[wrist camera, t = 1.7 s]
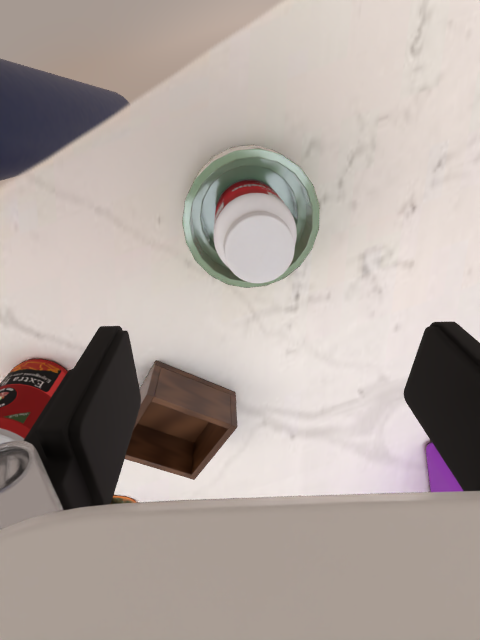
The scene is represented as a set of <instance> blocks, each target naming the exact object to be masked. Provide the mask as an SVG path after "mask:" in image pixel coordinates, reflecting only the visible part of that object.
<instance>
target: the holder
mask: <svg viewBox="0 0 480 640" xmlns="http://www.w3.org/2000/svg"><path fill="white" fill-rule="evenodd" d="M140 394H141V405H140V409H139V413H138V416H137V419H136V422H135V426H134V429H133V432H132V436H131V439H130V442H129V445H128V449H127V452H126V455H125V459H127V460H130V461H133V462H137V463H140V464H143V465H147V466H150V467H154V468H157V469H160V470H164V471H167V472H170V473H174V474H177V475H180V476H184V477H187V478H190V479H193V480H195V478H196V477H197V476H198V475H199V473H200V472H201V471H202V470H203V469H204V467H205V466H206V465H207V464H208V462H209V461H210V460H211V459H212V457H213V456H214V455H215V454H216V453H217V451H218V450H219V449H220V448H221V446H222V445H223V444H224V443H225V442H226V440H227V439H228V438H229V437H230V435H231V434H232V433H233V432H234V431H235V429H236V428H237V413H236V395H235V392H233V391H231V390H228V389H226V388H224V387H221V386H219V385H216V384H214V383H211V382H209V381H206V380H204V379H201V378H199V377H196V376H194V375H191V374H189V373H186V372H184V371H181V370H179V369H176V368H174V367H171V366H169V365H166V364H164V363H161V362H159V361H155V363H154V365H153V366H152V368H151V370H150V372H149V373H148V375H147V377H146V379H145V380H144V382H143V384H142V386H141V387H140Z"/></svg>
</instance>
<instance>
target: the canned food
mask: <svg viewBox="0 0 480 640" xmlns="http://www.w3.org/2000/svg"><path fill="white" fill-rule="evenodd" d="M67 372H68V371H67V370H66V369H65V368H63V367H62V366H60V365H58V364H56V363H54V362H51V361H48V360H43V359H32V360H27V361H24V362H22V363H21V364H19V365H17V366H16V367H14V368H13V369H12V370H11V371H10V373H9V374H8V375H7V376H6V377H5V379H4V380H3V381H2V382H1V383H0V444H2V443H5V442H10V441H23V440H24V439H25V437H26V436H27V434H28V433H29V431H30V430H31V428H32V426H33V425H34V423H35V422H36V420H37V419H38V417H39V415H40V414H41V412H42V411H43V409H44V408H45V406H46V405H47V403H48V401H49V400H50V398H51V397H52V395H53V394H54V392H55V391H56V389H57V387H58V386H59V384H60V383H61V381H62V380H63V378H64V376H65V375H66V374H67Z"/></svg>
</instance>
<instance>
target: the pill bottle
mask: <svg viewBox="0 0 480 640" xmlns="http://www.w3.org/2000/svg"><path fill="white" fill-rule="evenodd" d="M296 238H297V230H296V224H295V221H294V218H293V216H292V214H291V212H290V210H289V209H288V207H287V206H286V205H285V204H284V202H283V201H282V200H281V198H280V197H279V196H278V194H277V193H276V192H275V191H274V190H273V189H272V188H271V187H270V186H269V185H268V184H266V183H264V182H262V181H260V180H256V179H242V180H238V181H236V182H234V183H232V184H230V185H229V186H228V187H227V188H226V189H225V190H224V191H223V192H222V194H221V195H220V197H219V199H218V202H217V205H216V210H215V221H214V245H215V249H216V251H217V253H218V256H219V257H220V259H221V260H222V261H223V263H224V264H225V265H226V266H227V267H229V268H230V270H231V271H232V272H233V273H234V274H235V275H236V276H237V277H238V278H240V279H242V280H244V281H247V282H250V283H266V282H269V281H272V280H275V279H276V278H278V277H279V276H281V275H282V274H283V273H284V272H285V271H286V270H287V269H288V267H289V266H290V264H291V262H292V260H293V257H294V251H295V243H296Z"/></svg>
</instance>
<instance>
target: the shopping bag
mask: <svg viewBox="0 0 480 640" xmlns="http://www.w3.org/2000/svg"><path fill="white" fill-rule="evenodd" d="M426 456H427V465H428V473H429V481H430V489H431V492H457V491H463V489H462V488H461V486H460V485H459V483H458V482H457V480H456V479H455V477H454V475H453V474H452V472H451V471H450V469H449V468H448V466H447V465H446V463H445V462H444V460H443V458H442V457H441V455H440V454H439V452H438V451H437V449H436V448H435V446H434V444H433V443H430V444H428V445H427V448H426Z"/></svg>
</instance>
